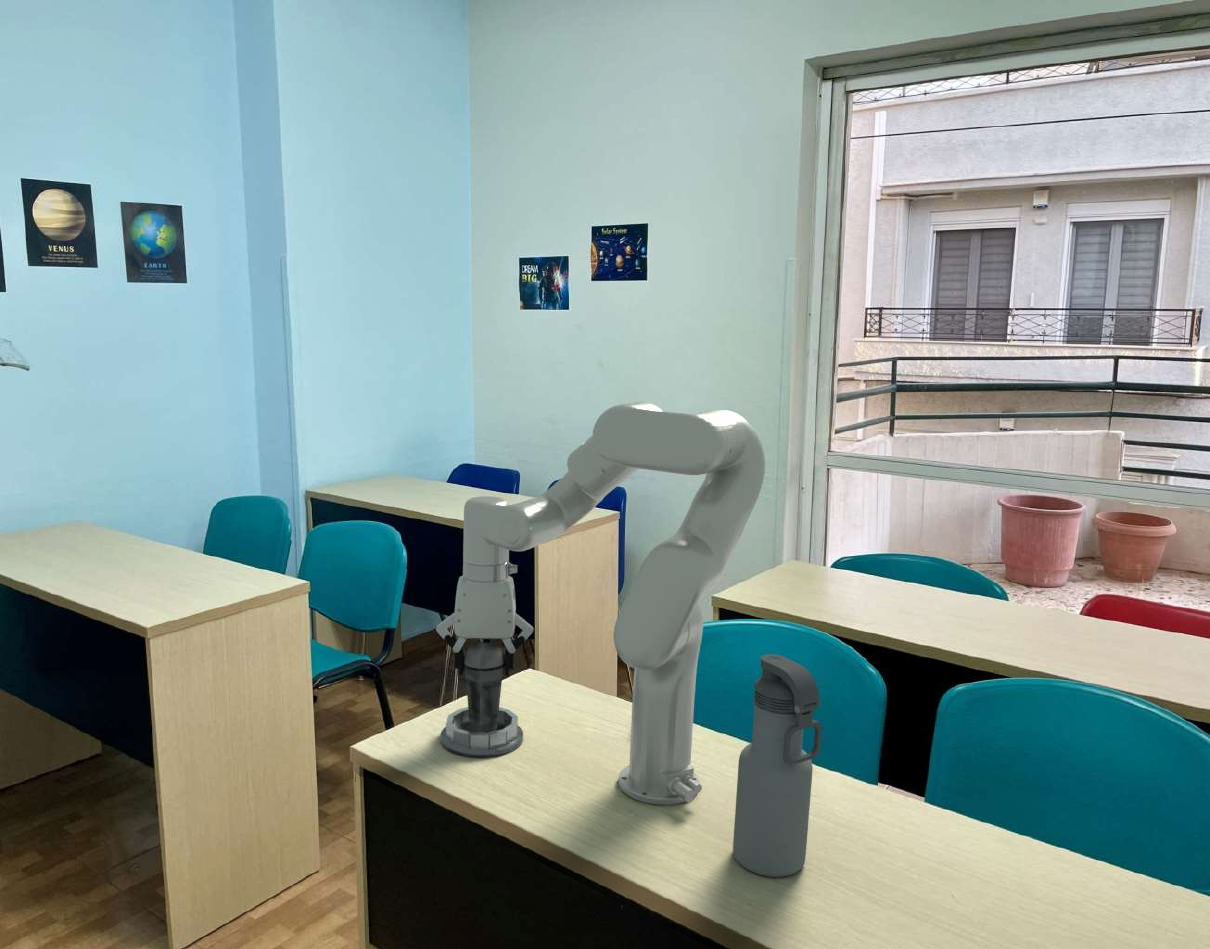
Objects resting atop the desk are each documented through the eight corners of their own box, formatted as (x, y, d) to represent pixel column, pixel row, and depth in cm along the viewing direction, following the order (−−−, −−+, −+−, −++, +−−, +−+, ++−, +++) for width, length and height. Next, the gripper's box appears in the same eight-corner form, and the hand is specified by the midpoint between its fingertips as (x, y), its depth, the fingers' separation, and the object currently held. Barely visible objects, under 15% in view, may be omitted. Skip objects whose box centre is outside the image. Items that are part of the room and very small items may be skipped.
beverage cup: (513, 727, 160) (515, 614, 157) (481, 740, 154) (483, 624, 151) (485, 714, 164) (487, 605, 161) (453, 726, 159) (454, 614, 156)
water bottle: (822, 868, 125) (839, 670, 121) (768, 889, 120) (783, 683, 116) (770, 832, 134) (784, 645, 129) (717, 850, 128) (730, 657, 124)
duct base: (537, 746, 158) (538, 727, 157) (461, 764, 150) (462, 744, 150) (500, 716, 169) (500, 697, 169) (427, 731, 162) (427, 712, 161)
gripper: (538, 566, 159) (536, 665, 162) (435, 564, 158) (435, 664, 161) (537, 578, 152) (535, 681, 155) (430, 576, 151) (429, 680, 154)
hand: (484, 672), depth 158 cm, fingers closed on beverage cup, 7 cm apart
